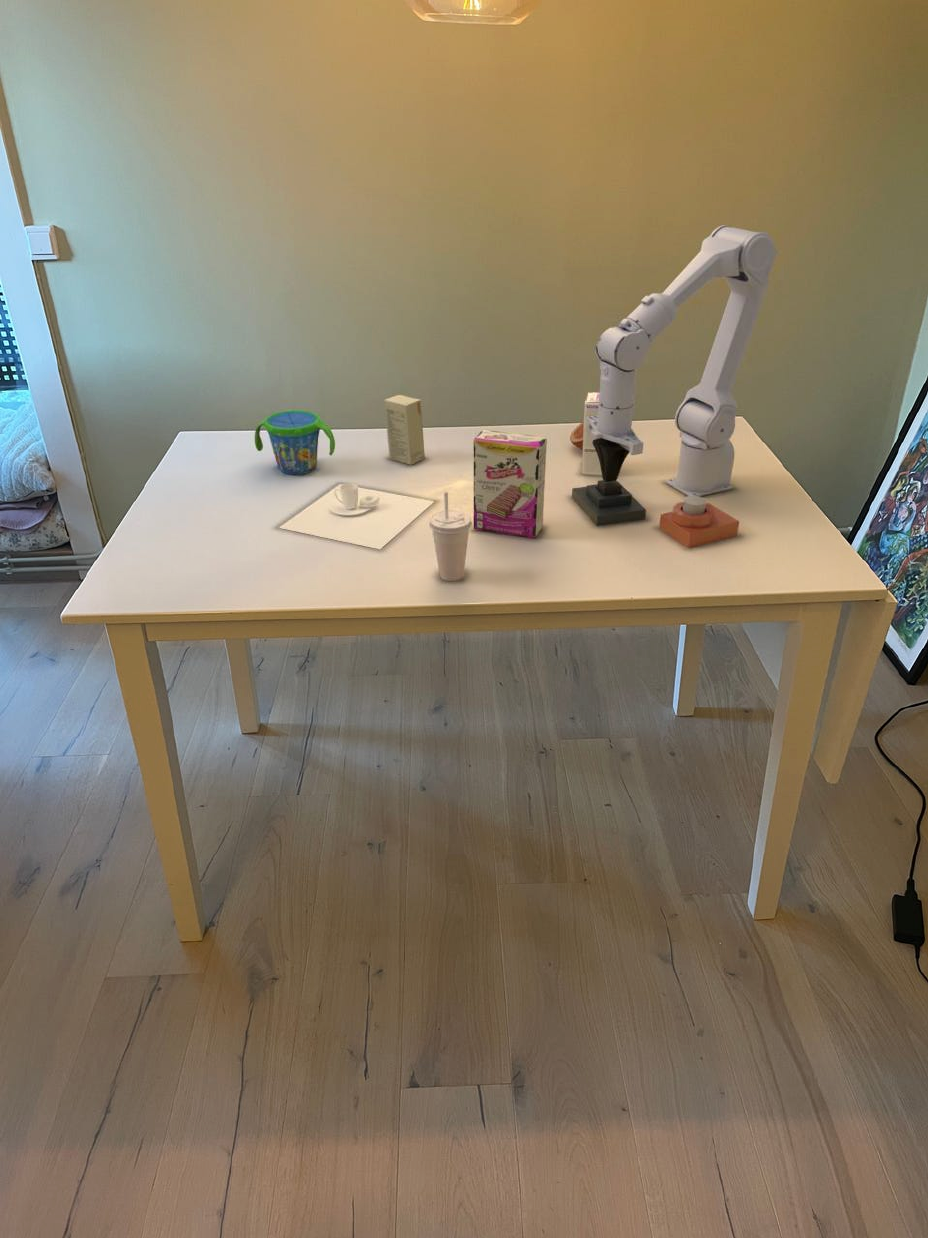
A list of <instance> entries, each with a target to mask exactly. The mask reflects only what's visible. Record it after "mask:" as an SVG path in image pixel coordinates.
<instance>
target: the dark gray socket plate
mask: <svg viewBox="0 0 928 1238" xmlns="http://www.w3.org/2000/svg"><path fill="white" fill-rule="evenodd" d="M617 482H618V483H619V484H620V485H621V486H622V488H621V494H615V495H608V496H603V495H602V494H601V493H600V492H599V491H598V490H597V484H587V485H585V486H581V487H573V488H572V489H571V499H572V500H573V501H574V502H575V504H577V505H578V507H579V508H580V509H581V510H582V511H583V512H584V514H585V515H586V516H587V518H589V520H591V522H592V523H593V524H594V525H595V526H596V527H599V526H606V525H614V524H621V523H629V522H636V521H643V520H646V517H647V516H646V514H647V509H646V508H645V507H644V506H643V505H642V504H641V503H640V502H639V501H638V500H637V499H636V498H635V497H634V496H633V495H632V494H631V493H630V491H629V490H627V488H625V487H624V486H623V485H622V484H621V483H620V482H619V481H617Z"/></svg>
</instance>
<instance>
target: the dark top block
mask: <svg viewBox="0 0 928 1238" xmlns="http://www.w3.org/2000/svg"><path fill="white" fill-rule="evenodd" d="M618 482H619V481H618V480H616V481H611V482H606V481H604V480H603V479H601V480H597V490H598V491H599V492H600V493H601V494H602V495H603V496H608V495H615V494H621V488H622V486H623V485H622V484H621V483H620V482H619V483H620V484H621V485H622V486H621V485H620V484H619V483H618Z"/></svg>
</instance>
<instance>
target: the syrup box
mask: <svg viewBox="0 0 928 1238" xmlns="http://www.w3.org/2000/svg"><path fill="white" fill-rule="evenodd" d="M599 392H600V391H599ZM599 392H587V394H586V398H585V401H584V410H583V411H584V414H583V421H584V431H583V449H582V456H581V457H582V459H581V474H582V475H586V476H598V477H599V476H600V477H602V472H601V467H600V462H599V458H598V455H597V452H596V450H595V448H594V446H593V440H594V439H599V438H595V437H593V436H592V435H591V432H592V431H594V430H593V429H588V428H586V417H590V416H595V415H596V416H598V406H599Z"/></svg>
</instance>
